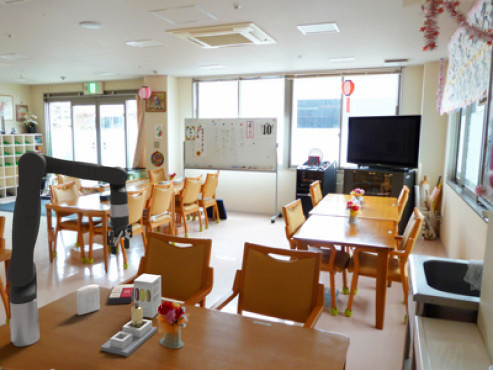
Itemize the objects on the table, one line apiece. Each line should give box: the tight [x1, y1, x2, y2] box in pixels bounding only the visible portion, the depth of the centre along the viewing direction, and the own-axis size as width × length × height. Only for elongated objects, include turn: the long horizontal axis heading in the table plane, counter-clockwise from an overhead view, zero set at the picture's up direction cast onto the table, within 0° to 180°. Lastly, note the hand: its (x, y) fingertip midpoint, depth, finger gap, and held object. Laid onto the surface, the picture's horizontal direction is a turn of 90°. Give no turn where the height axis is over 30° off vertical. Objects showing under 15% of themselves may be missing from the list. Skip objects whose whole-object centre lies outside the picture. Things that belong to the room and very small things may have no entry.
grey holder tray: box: [100, 318, 158, 357], centre depth 155 cm, size 12×20×4 cm, turn 161°
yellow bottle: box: [130, 302, 144, 328], centre depth 158 cm, size 4×4×12 cm
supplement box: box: [133, 273, 162, 319], centre depth 177 cm, size 10×9×17 cm
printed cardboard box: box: [107, 283, 134, 305], centre depth 195 cm, size 11×4×15 cm
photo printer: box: [76, 284, 101, 316], centre depth 178 cm, size 10×4×12 cm, turn 134°
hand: (120, 251), depth 165 cm, fingers open, 8 cm apart
